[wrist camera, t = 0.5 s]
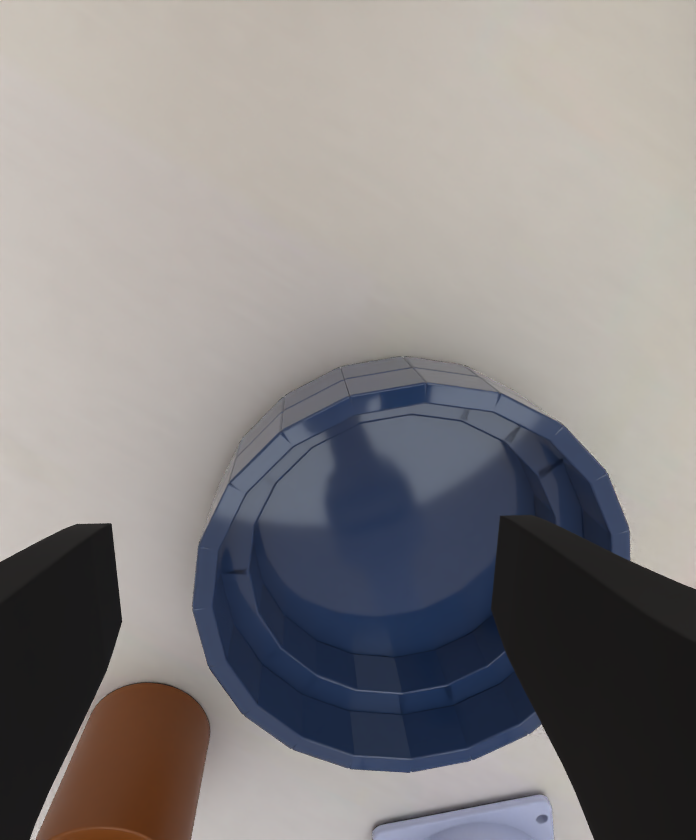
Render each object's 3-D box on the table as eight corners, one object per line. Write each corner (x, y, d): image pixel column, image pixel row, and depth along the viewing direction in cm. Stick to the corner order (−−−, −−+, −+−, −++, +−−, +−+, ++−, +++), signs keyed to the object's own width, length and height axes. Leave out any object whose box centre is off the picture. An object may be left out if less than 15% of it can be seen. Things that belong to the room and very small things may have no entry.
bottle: (221, 765, 25) (184, 1011, 17) (106, 787, 24) (15, 1044, 17) (194, 672, 23) (140, 892, 15) (72, 694, 23) (-45, 928, 15)
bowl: (574, 643, 24) (633, 731, 20) (255, 703, 24) (246, 805, 19) (558, 324, 20) (628, 347, 16) (176, 390, 20) (141, 431, 16)
